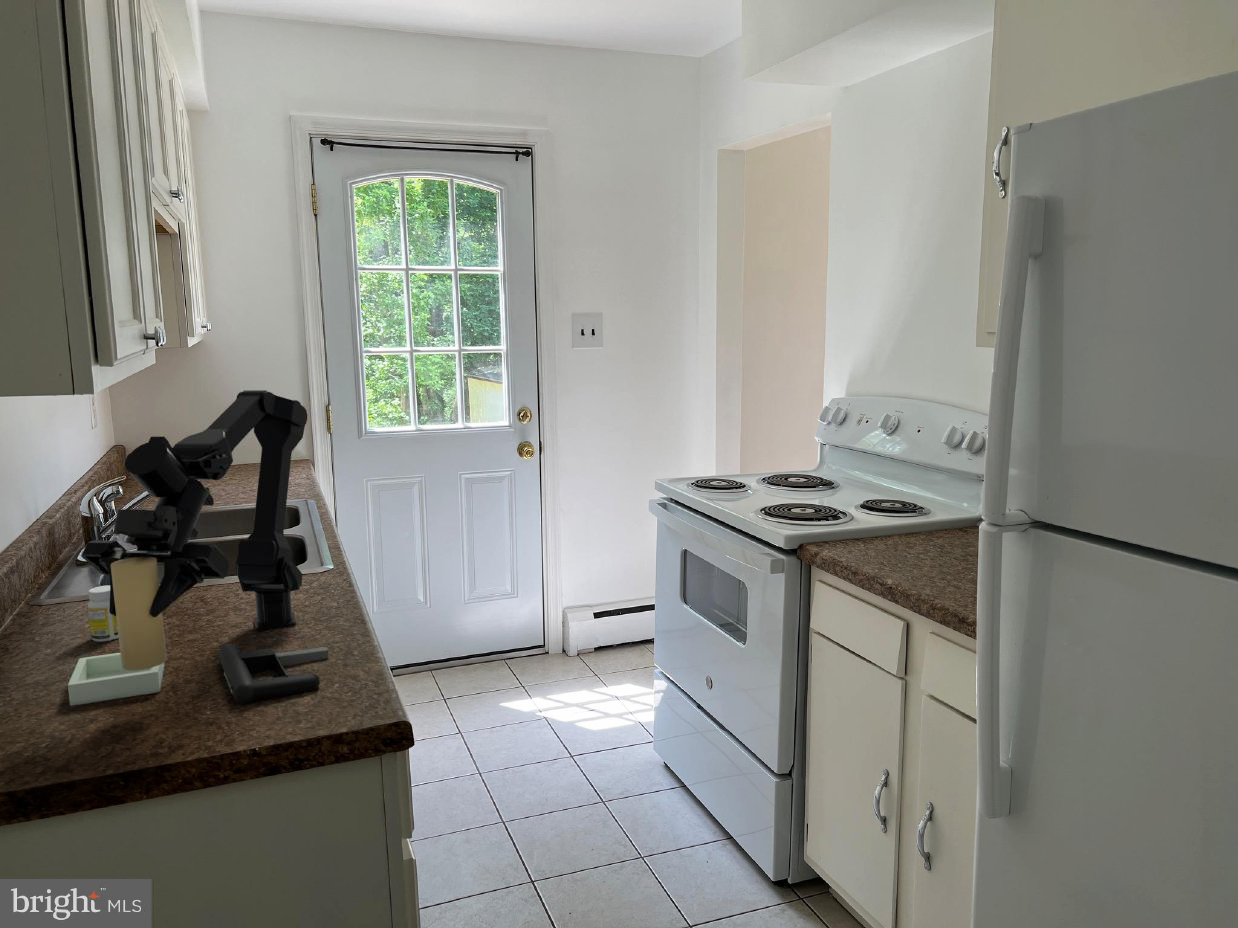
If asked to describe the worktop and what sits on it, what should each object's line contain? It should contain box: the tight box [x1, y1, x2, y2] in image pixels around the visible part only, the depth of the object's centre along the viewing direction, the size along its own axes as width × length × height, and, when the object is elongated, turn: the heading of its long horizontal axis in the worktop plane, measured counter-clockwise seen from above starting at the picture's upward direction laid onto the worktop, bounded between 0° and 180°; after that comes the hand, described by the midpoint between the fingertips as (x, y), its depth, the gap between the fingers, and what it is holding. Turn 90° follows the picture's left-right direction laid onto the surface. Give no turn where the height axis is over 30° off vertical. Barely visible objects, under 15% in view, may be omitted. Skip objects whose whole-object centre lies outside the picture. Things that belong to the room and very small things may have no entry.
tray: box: [67, 652, 165, 707], centre depth 130 cm, size 11×11×3 cm
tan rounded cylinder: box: [111, 557, 168, 670], centre depth 120 cm, size 5×5×14 cm
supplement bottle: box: [87, 585, 119, 642], centre depth 150 cm, size 5×5×8 cm
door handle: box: [212, 642, 329, 705], centre depth 133 cm, size 3×20×16 cm
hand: (132, 615), depth 119 cm, fingers closed on tan rounded cylinder, 5 cm apart
